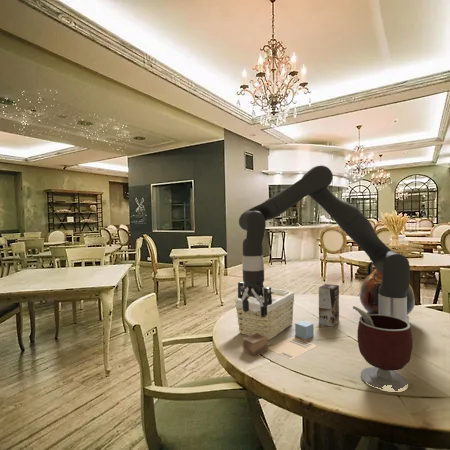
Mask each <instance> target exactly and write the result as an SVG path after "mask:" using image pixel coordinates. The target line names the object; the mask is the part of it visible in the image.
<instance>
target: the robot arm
mask: <svg viewBox="0 0 450 450" xmlns="http://www.w3.org/2000/svg"><path fill="white" fill-rule="evenodd" d="M333 179H334V176H333V172H332V170H331V169H330V168H329V167H327V166H325V165H322V164H321V165H315V166H312V168H310V169H309V170H308V171H307V172H305V173H304V175H303V176H302V177H301V178H300V179H299V180H297V181H296V182H294V183H293V184H292V185H289V186H288V187H286V188H284V189H283V190H281V191H280V192H278V193H276V194H275V195H273V196H271V197H269V198H268V199H266V200H264V202H262V203H260V204H258V205H255V206H254V207H251V208H249V209H247V210H245V211H244V212H243V213H242V214H240V216H239V219H238V224H239V227H240V228H241V229H242V230H244V231H245V232H246V236H245V237H246V238H244V239H243V241H242V262H241V265H242V281H239V282H237V298H240V299H241V300H242V303H243V311H244V312H246V311H249V301H248V299H249V297H254V298H256V299H257V301H259V303H260V305H261V306H260V307H261V317H266V315H267V306H268V305H271V304H272V299H273V298H272V294H271V288H272V287H271V286H264V281H265V261H264V260H265V259H264V247H263V243H264V239H265V238H264V237H265V233H266V226H267V221H269V220H273V219H275V218H278V217H279V216H281V215H282V214H283V213H285V212H288V210H289V209H290V208H292V207H293V206H294V205H296V204H297V203H298V202H299V201H301V200H303V199H304V198H306V197H307V196H310V198H311V199H312V200H313V201H314V202H316V203H317V204H318V205H319V207H321V208H322V209H323V210H324V211H325V212H326V213H327V214H328V215H329V217H331V218H332V220H334V222H335V223H336V224H337V225H338V227H340V229H341V230H343V232H344V233H345V234H346V235H347V236H348V237H349V238H350V239H351V240H352V242H354V243H355V244H356V245H357V246H358V247H359V248H361V249H362V251H364V252H365V254H366V256H368V258H369V260H370V259H371V260H372V261H371V260H370V261H371V262H373V263H374V265H375V266H376V267H377V269H378V270H379V271H380V272H381V273H383V275H382V285H381V286H379V314H381V315H389V316H393V317H397V318H400V319H403V320H405V321H407V322H408V323H409V324H410V317H409V315H407V291H408V289H409V284H410V280H411V266H410V261H409V259H408V258H407V257H406V256H405V255H403V254H401V253H398V252H395V251H393V250H392V249H391V248H389V246H387V245H386V244H385V243H384V242H383V241H382V240H381V239H380V238H379V236H378V235H377V232H376V231H375V228H374V227H373V225H372V223H371V221H369V219H368V218H367V217H366V216H365V214H364V213H362V210H360V209H358V207H356V206H355V205H353V204H351V203H349V202H348V201H345V200H344V199H341V198H339V197H337V196H336V194H333V193H332V191H331V190H330V189H329V186H331V184H332V182H333ZM374 265H373V266H374ZM375 266H374V267H375ZM260 296H262V297H260ZM262 300H263V301H262ZM263 302H264V303H263Z"/></svg>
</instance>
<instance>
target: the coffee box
mask: <svg viewBox="0 0 450 450" xmlns="http://www.w3.org/2000/svg"><path fill="white" fill-rule="evenodd" d="M339 322H340V286H339V285H338V284H331V283H330V284H328V283H324V284H323V285H321V286H319V287H318V324H319V325H323V326H328V327H334V326H335V325H336V324H337V323H339Z"/></svg>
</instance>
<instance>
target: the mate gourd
mask: <svg viewBox="0 0 450 450" xmlns="http://www.w3.org/2000/svg"><path fill="white" fill-rule="evenodd" d="M352 309H353V310H355V311H356V312H358V313H359V314H360V317H359V321H358V325H357V345H358V350H359V353H360V355H361V356H362V357H363V359H364V361H366V363H367V364H369V365H370V366H369V367H365V368H363V369H362V370H361V372H360V379H361V378H362V379H363V380H364V381H365V382H367V383H368V384H370V385H372V386H374V387H378V388H381V389H383V388H382V387H383V386H384V385H386V386H387V385H392V387H391V388H393V389H394V390H395V391H398V389H400V388H403V387H404V386H405V385H407V384H408V386H409V387H410V381H409V380H408V379H407V378H406V377H405V376H404V375H403V374H401V373H399V372H398V371H401V370H402V369H404V368H405V366H407V365H408V364H409V363H410V360H411V358H412V353H413V334H412V330H411V324H410V322H409V323H408V322H407V321H405V320H403V319H400V318H397V317H393V316H389V315H381V314H367V311H366V312H365V311H364V310H363V309H361V308H358V307H357V306H356V305H353V306H352ZM362 379H361V380H362ZM363 380H362V381H363ZM364 381H363V382H364ZM365 382H364V383H365Z"/></svg>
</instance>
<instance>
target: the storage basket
mask: <svg viewBox="0 0 450 450" xmlns="http://www.w3.org/2000/svg"><path fill="white" fill-rule="evenodd" d="M271 295H275V296H282V297H280V298H278V299H276V298H272V304H271V305H268V306H267V315H266V317H261V307H260V306H261V305H260V303H259V301H257V299H256V298H254V297H249V299H248V301H249V311H246V312H244V311H243V303H242V300H241V299H240V298H238V297H237V298H235V308H236V316H237V323H238V329H239V330H238V331H239V333H240V334H242V335H245V336H247V337H248V336H251V335H253V334H256V333H257V334H260V335H263V336H265V337H267V341H270V340H272V339H273V338H275V337H276V336H278V335H279V334H281V333H282V332H283V331H285V329H288V328H289V327H290V326H291V325H293V323H294V322H293V321H294V319H293V317H294V316H293V315H294V304H295V303H294V302H295V292H293V290H286V289H280V288H276V287H275V288H274V287H271ZM260 297H262V296H260ZM262 301H263V300H262ZM263 303H264V302H263Z"/></svg>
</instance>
